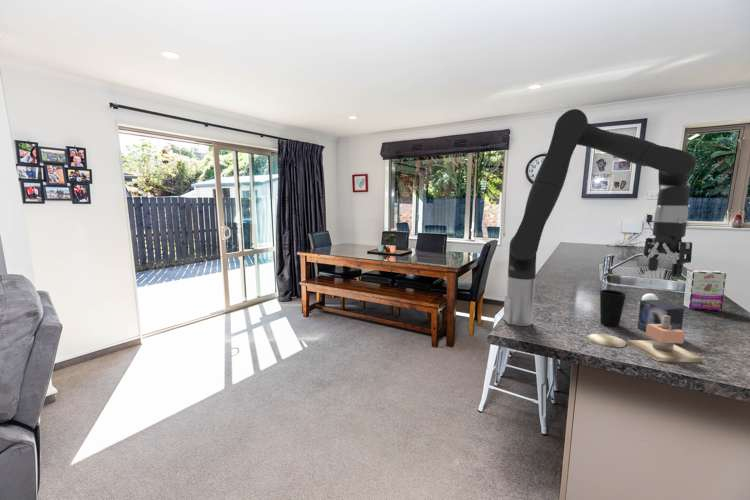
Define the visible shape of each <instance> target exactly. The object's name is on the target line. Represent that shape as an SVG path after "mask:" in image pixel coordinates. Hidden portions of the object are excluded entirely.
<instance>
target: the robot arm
mask: <svg viewBox="0 0 750 500" xmlns="http://www.w3.org/2000/svg"><path fill="white" fill-rule="evenodd" d="M552 133H553V134H552V136H551V141H550V142H549V143H550V144H549V148H548V150H547V153H546V154H545V157H544V159H543V161H542V162H541V165H540V166H539V168H538V170H537V173H536V175H535V178H534V180H533V182H532V184H531V186H530V187H531V188H530V190H529V192H528V196H527V199H526V204H525V207H524V208H525V209H524V214H523V217H522V219H521V222H520V225H519V226H518V228H517V230H516V233H515V234H514V236H512V237H511V240H510V242H509V249H508V250H509V251H508V252H509V253H508V266H507V267H508V268H507V286H506V294H505V295H504V303H503V304H504V305H503V317H502V318H503V321H505V322H506V323H507V324H508V325H513V326H518V327H529V326H532V324H533V317H534V316H533V314H534V300H535V299H534V298H535V288H536V286H535V285H536V276H537V275H536V272H537V270H536V269H537V263H536V262H537V253H538V250H539V245H540V242H541V238H542V234H543V232H544V231H543V230H544V229H545V225H546V223H547V221H548V219H549V218H550V215H551V214H552V212H553V210H554V208H555V206H556V204H557V202H558V199H559V197H560V195H561V192H562V190H563V188H564V185H565V180H566V178H567V175H568V171H569V167H570V162H571V159H572V157H573V153H574V152H575V149H576V148H577V146H582V147H586V148H590V149H594V150H597V151H600V152H603V153H605V154H608V155H610V156H613V157H616V158H618V159H621V160H623V161H625V162H626V161H627V162H629V163H631V164H635V165H637V166H641V167H648V168H651V169H654V170H657V171H658V194H657V200H656V207H655V211H654V218H653V226H652V235H653V236H655V237H646V238H645V244H644V250H643V256H644V257H647V258H648V263H647V264H648V265H647V266H648V267H647V268H648V271H650V272H654V271H655V272H656V271H657V270H658V265H659V264H658V262H659V258H660V256H661V255H667V256H668V257H669V258H670V259H671V260H672V262H673V263H672V264H671V265H672V266H671V275H670V276H672V277H681V276H682V273H683V267H684V264H690V263H691V262H692V257H693V256H692V253H693V242H691V241H683V240H682V239H683V238H684V237H685V236H686V230H687V223H688V217H689V216H688V215H689V210H688V206H689V199H690V189H689V186H687V185H688V182H687V181H688V175H689V174H690V173H692V172H693V171H694V169H695V168H696V166H697V159H696V157H695V155H693V154H692V153H690V152H688V151H685V150H683V149H682V150H681V149H678V148H674V147H670V146H665V145H659V144H657V143H655V142H653V141H648V140H646V139H643V138H641V137H637V136H633V135H630V134H626V133H619V132H614V131H608V130H604V129H602V128H600V127H597V126H594V125H592V124H590V123H589V121H588V117H587V115H586V113H584V112H583V111H582V110H580V109H578V108H572V109H568V110H566V111H565V112H563V113H562V114H560V116H558V118H557V119H556V121H555V124H554V129H553V132H552Z"/></svg>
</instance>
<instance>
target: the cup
mask: <svg viewBox="0 0 750 500" xmlns="http://www.w3.org/2000/svg"><path fill="white" fill-rule="evenodd" d="M626 296H627V294H626V293H625V292H622V291H619V290H613V289H612V290H610V289H601V290H599V299H600V300H599V301H600V302H599V305H600V307H599V309H600V311H599V312H600V315H599V317H600V324H602V325H603V326H606V327H611V328H618V327H620V326H619V325H620V323H621V317H622V313H623V309H624V306H625V305H624V303H625V300H626Z"/></svg>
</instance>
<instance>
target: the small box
mask: <svg viewBox="0 0 750 500" xmlns="http://www.w3.org/2000/svg"><path fill="white" fill-rule="evenodd" d="M638 311H639V312H638V318H637V319H638V321H637V328H638V329H639V330H642V331H644V332H646V327H647V324H662V316H663V315H667V316H670V317H671V319H670V326H671V330H682V328H683V322H684V321H683V320H684V312H685V307H682V306H681V307H680V306H679V305H676V304H675V305H674V304H672V303H670V302H665V301H662V300H659V299H658V300H642V299H641V300H640V302H639V310H638ZM682 331H683V330H682Z"/></svg>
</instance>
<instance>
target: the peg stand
mask: <svg viewBox="0 0 750 500" xmlns="http://www.w3.org/2000/svg"><path fill="white" fill-rule="evenodd" d="M670 319H671V317H670V316H667V315H663V316H662V325H661V328H662V329H669V327H670ZM626 345H629V346H630V347H632V348H634V349H635V350H637V351H639V352H641V353H642V354H644V355H646V356H648V357H649V358H651V359H653V360H655V361H656V362H669V363H670V362H672V363H674V362H675V363H678V362H679V363H703V357H700V356H699V355H696V354H694V353H693V352H690V351H688V350H687V349H684V348H682V347H680V346H678V345H676V344H675V343H661V342H659V341H657V340H655V339H653V338H652V340H644V339H642V340H639V339H638V340H637V339H633V340H632V339H627V342H626Z"/></svg>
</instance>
